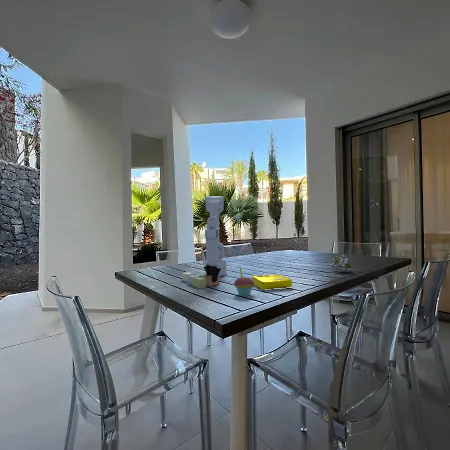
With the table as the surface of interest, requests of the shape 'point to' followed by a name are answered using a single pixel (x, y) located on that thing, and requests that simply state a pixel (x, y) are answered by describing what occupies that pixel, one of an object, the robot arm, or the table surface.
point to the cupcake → (244, 285)
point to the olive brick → (199, 282)
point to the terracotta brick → (209, 280)
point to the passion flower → (340, 262)
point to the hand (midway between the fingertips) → (212, 281)
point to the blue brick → (192, 277)
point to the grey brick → (186, 276)
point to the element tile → (271, 281)
